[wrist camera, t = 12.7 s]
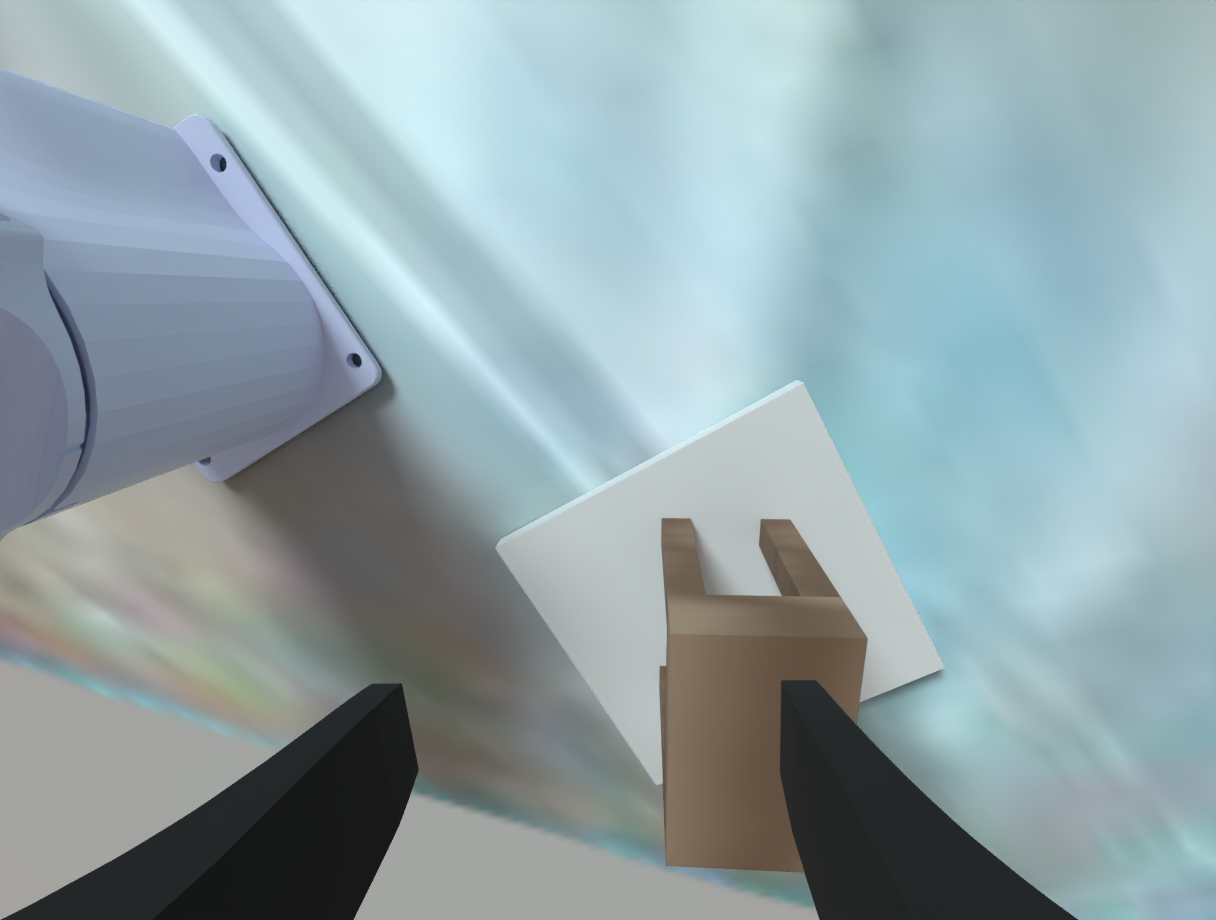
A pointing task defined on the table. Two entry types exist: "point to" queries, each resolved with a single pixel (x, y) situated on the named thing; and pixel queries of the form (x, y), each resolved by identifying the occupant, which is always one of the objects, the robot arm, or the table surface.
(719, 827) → the brown forked block
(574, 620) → the mat
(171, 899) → the robot arm
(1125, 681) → the table surface
